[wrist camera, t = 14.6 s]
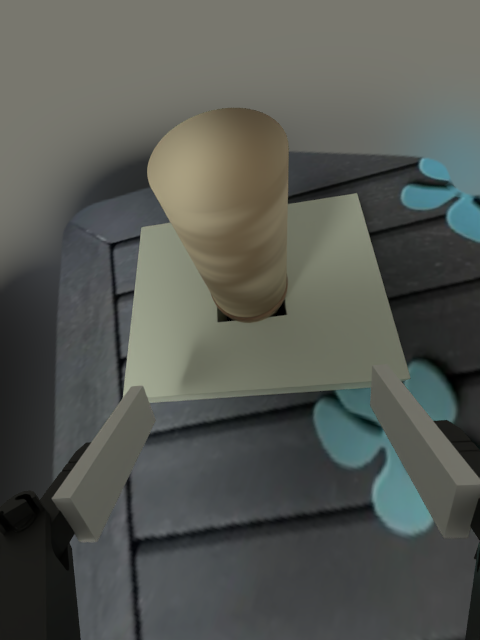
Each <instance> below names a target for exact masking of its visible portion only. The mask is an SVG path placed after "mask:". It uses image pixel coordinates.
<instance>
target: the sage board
mask: <svg viewBox="0 0 480 640" xmlns="http://www.w3.org/2000/svg"><path fill="white" fill-rule="evenodd" d="M287 277H288V288H287V294H286V297H285V299H284V301H283V307H284V315H283V316H274V317H268V318H266V319H264V320H261V321H258V322H252V323H245V322H239V321H227V316H226V315H225V314H223V313H222V312H221V311H220V310H219V309H218V307H217V306H216V304H215V302H214V301H213V298H212V296H211V293H210V291H209V289H208V287H207V286H206V284H205V282H204V280H203V279H202V277H201V275H200V273H199V272H198V270H197V268H196V266H195V264H194V263H193V261H192V259H191V257H190V256H189V254H188V252H187V250H186V249H185V247H184V245H183V243H182V242H181V240H180V238H179V236H178V234H177V233H176V231H175V229H174V227H173V226H172V224H171V223H166V224H160V225H153V226H147V227H142V228H141V237H140V246H139V255H138V265H137V274H136V283H135V292H134V301H133V310H132V319H131V328H130V338H129V347H128V356H127V365H126V374H125V383H124V392H123V397H124V396H125V394H126V393H127V392H128V390H129V389H130V387H131V386H142V385H143V387H144V389H145V392H146V395H147V398H148V400H149V403H154V402H168V401H183V400H197V399H211V398H226V397H240V396H255V395H269V394H284V393H298V392H313V391H327V390H341V389H356V388H370V387H371V380H372V365H383V364H388V366H389V367H390V368H391V369H392V371H393V372H394V373H395V374H396V376H397V377H398V378H399V379H400V381H401V382H402V381H405V380H408V379H410V375H409V371H408V368H407V364H406V361H405V357H404V354H403V351H402V347H401V344H400V340H399V337H398V333H397V330H396V326H395V323H394V319H393V316H392V313H391V309H390V306H389V302H388V299H387V295H386V292H385V288H384V285H383V281H382V278H381V274H380V271H379V268H378V264H377V261H376V257H375V254H374V250H373V247H372V243H371V240H370V236H369V233H368V230H367V226H366V223H365V219H364V216H363V212H362V209H361V205H360V202H359V198H358V195H357V193H355V194H349V195H343V196H336V197H330V198H324V199H318V200H311V201H305V202H299V203H292V204H288V219H287Z"/></svg>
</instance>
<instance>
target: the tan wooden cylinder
mask: <svg viewBox="0 0 480 640" xmlns="http://www.w3.org/2000/svg"><path fill="white" fill-rule="evenodd" d="M288 147H289V146H288V140H287V136H286V134H285V132H284V130H283V128H282V127H281V126H280V124H279V123H277V122H276V121H275V120H274V119H273V118H271V117H270V116H268V115H266V114H264V113H261V112H259V111H256V110H251V109H246V108H223V109H217V110H212V111H208V112H205V113H202V114H199V115H196V116H194V117H191V118H189V119H187V120H186V121H184V122H182V123H181V124H179V125H177V126H176V127H174V128H173V129H172V130H171V131H169V132H168V133H167V134H166V135H165V136H164V137H163V138H162V139H161V140H160V142H159V143H158V144H157V146H156V147H155V149H154V150H153V152H152V154H151V157H150V160H149V163H148V168H147V175H148V181H149V184H150V187H151V189H152V190H153V192H154V194H155V196H156V197H157V199H158V201H159V203H160V205H161V206H162V208H163V210H164V212H165V213H166V215H167V217H168V219H169V220H170V222H171V224H172V226H173V227H174V229H175V231H176V233H177V234H178V236H179V238H180V240H181V242H182V243H183V245H184V247H185V249H186V250H187V252H188V254H189V256H190V257H191V259H192V261H193V263H194V264H195V266H196V268H197V270H198V272H199V273H200V275H201V277H202V279H203V280H204V282H205V284H206V286H207V287H208V289H209V291H210V293H211V296H212V298H213V301H214V302H215V304H216V306H217V307H218V309H219V310H220V311H221V312H222V313H223V314H225V315H226V316H228V317H229V318H231V319H233V320H235V321H239V322H245V323H252V322H258V321H261V320H264V319H266V318H268V317H274V316H276V314H277V312H278V309H279V308H280V306H281V305H282V303H283V301H284V299H285V297H286V294H287V288H288V277H287V219H288V160H289V148H288Z"/></svg>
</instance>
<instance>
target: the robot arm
mask: <svg viewBox="0 0 480 640" xmlns="http://www.w3.org/2000/svg"><path fill="white" fill-rule="evenodd" d="M370 406H371V408H372V410H373V412H374V413H375V415H376V417H377V419H378V421H379V422H380V424H381V426H382V428H383V430H384V431H385V433H386V435H387V437H388V439H389V440H390V442H391V444H392V446H393V448H394V449H395V451H396V453H397V455H398V457H399V458H400V460H401V462H402V464H403V466H404V467H405V469H406V471H407V473H408V475H409V476H410V478H411V480H412V482H413V484H414V485H415V487H416V489H417V491H418V493H419V494H420V496H421V498H422V500H423V502H424V504H425V505H426V507H427V509H428V511H429V513H430V514H431V516H432V518H433V520H434V522H435V523H436V525H437V527H438V529H439V531H440V532H441V534H442V536H443V538H468V536H469V532H470V529H471V528H472V530H473V531H474V533H475V534H476V536H477V537H478V539H479V540H480V451H479V449H478V448H477V446H476V445H475V444H474V443H472V442H471V440H470V439H469V438H468V436H467V435H466V434H465V433H464V432H463V431H462V430H461V429H460V428H458V427H457V426H455V425H454V424H452V423H451V422H449V421H448V420H442V421H433V420H432V419H431V418H430V417H429V415H428V414H427V413H426V412H425V410H424V409H423V408H422V407H421V405H420V404H419V403H418V402H417V400H416V399H415V398H414V397H413V395H412V394H411V393H410V392H409V391H408V389H407V388H406V387H405V386H404V384H403V383H402V382H401V381H400V379H399V378H398V377H397V376H396V374H395V373H394V372H393V371H392V369H391V368H390V367H389V366H388V364H383V365H372V380H371V400H370ZM155 421H156V420H155V417H154V414H153V412H152V409H151V406H150V403H149V400H148V398H147V395H146V392H145V389H144V387H143V385H142V386H131V387H130V389H129V390H128V392H127V393H126V394H125V396H124V397H123V399H122V400H121V401H120V403H119V404H118V406H117V407H116V409H115V410H114V411H113V413H112V414H111V416H110V417H109V418H108V420H107V421H106V423H105V424H104V425H103V427H102V428H101V430H100V431H99V432H98V434H97V435H96V437H95V438H94V440H93V441H92V442H91V443H85V444H84V445H83V446H82V447H81V448H80V449H78V450H77V451H76V452H75V454H74V455H73V456H72V458H71V459H70V460H69V462H68V464H66V466H65V467H64V468H63V470H62V472H60V474H59V475H58V476H57V478H56V479H55V480H54V482H53V483H52V485H51V486H50V487H49V489H48V490H47V491H46V493H45V494H44V495H43V497H42V498H41V499H40V500H39V498H38V497H37V496H36V494H35V493H34V492H32V491H24V492H21V493H19V494H17V495H15V496H13V497H12V498H11V499H9V500H7V502H5V503H4V504H3V505H2V506H1V507H0V640H81V638H80V628H79V617H78V607H77V597H76V587H75V576H74V566H73V556H72V548H71V545H70V543H69V542H70V541H71V539H72V537H73V535H74V534H75V535H76V537H77V538H78V540H79V541H80V542H97V541H98V539H99V537H100V535H101V533H102V531H103V529H104V527H105V525H106V522H107V520H108V518H109V516H110V514H111V512H112V510H113V508H114V506H115V504H116V502H117V500H118V498H119V496H120V493H121V491H122V489H123V487H124V485H125V483H126V481H127V479H128V477H129V475H130V473H131V471H132V469H133V467H134V464H135V462H136V460H137V458H138V456H139V454H140V452H141V450H142V448H143V446H144V444H145V442H146V440H147V438H148V435H149V433H150V431H151V429H152V427H153V425H154V423H155ZM474 559H476V566H475V573H474V580H473V588H472V595H471V602H470V609H469V616H468V623H467V631H466V638H465V640H480V542H479V545H478V548H477V551H476V554H475V557H474Z"/></svg>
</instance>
